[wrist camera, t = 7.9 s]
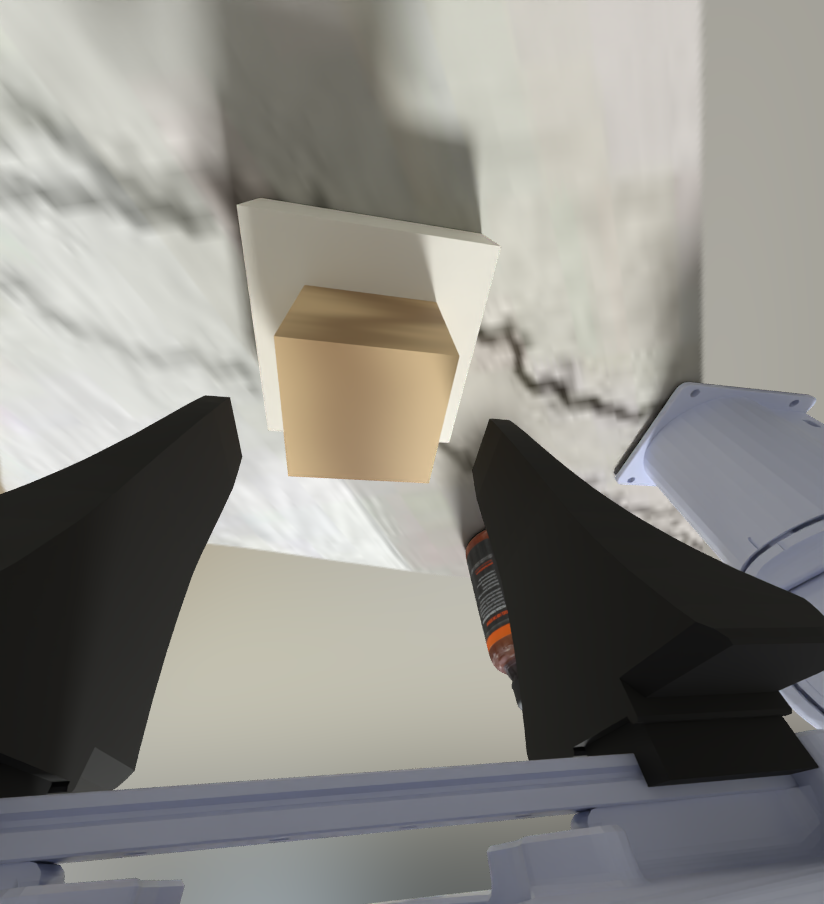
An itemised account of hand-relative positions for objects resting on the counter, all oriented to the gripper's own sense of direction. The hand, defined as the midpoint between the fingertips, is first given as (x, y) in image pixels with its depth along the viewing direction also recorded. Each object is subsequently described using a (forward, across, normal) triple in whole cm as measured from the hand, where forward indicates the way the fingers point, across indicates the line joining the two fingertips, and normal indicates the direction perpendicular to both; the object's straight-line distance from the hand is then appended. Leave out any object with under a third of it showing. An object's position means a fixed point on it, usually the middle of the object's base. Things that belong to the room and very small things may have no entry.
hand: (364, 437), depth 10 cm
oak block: (+6, 0, 0) cm, 6 cm away
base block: (+9, 0, 0) cm, 9 cm away
